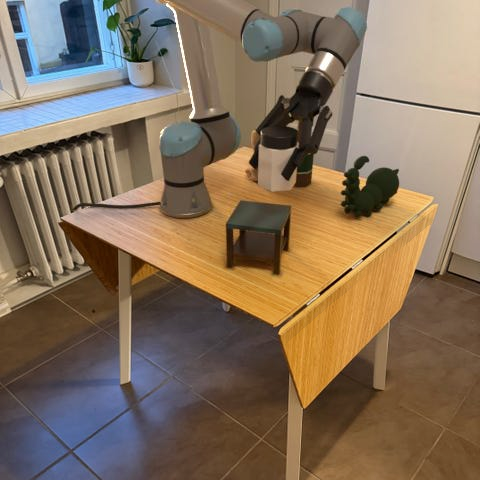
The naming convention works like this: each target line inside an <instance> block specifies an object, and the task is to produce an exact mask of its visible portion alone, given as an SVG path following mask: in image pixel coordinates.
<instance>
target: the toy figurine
mask: <svg viewBox="0 0 480 480" xmlns="http://www.w3.org/2000/svg"><path fill="white" fill-rule="evenodd" d="M369 162H370V158H369V157H368V156H367V155H361V156H359V157H357V158H356V159H355V161H354V163H353V167H351V168H349V169H347V171H345V172H344V173H343V177H344V178H346V179H344V180H343V181H342V182H341V185H342V186H343V187H344V189H343V190H341V191H340V195H341V196H342V197H343V196H344V200H342V201H341V202H340V206H341V207H343V212H344V213H345V214H351V212H352V213H354V216H355V218H361V217H362V216H363V215H364V216H366V217H371V215H373V211H372V209H373V210H374V211H377V212H379V211H381V210H382V208H383V205H385V204H388V203H389V202H390V199H392V198H393V197H394V196H395V195H396V194H398V190H399V188H400V179H399V175H398V174H399V171H400V169H399V168H396V169H392V168H389V167H385V166H384V167H378V168H375V169H374V170H372V171H371V173H369V175H368V176H367V178H366V181H365V185H364V186H362V187H361V188H360V184H361V180H360V171H359V170H361V169H362V168H363V167H364V166H365V165H366V163H369Z"/></svg>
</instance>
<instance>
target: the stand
mask: <svg viewBox="0 0 480 480" xmlns="http://www.w3.org/2000/svg"><path fill="white" fill-rule="evenodd" d="M291 219H292V205H290V204H289V205H288V204H279V203H270V202H260V201H252V200H242V199H241V200H239V201H238V203H237V205H236V206H235V208H234V210H233V211H232V213H231V214H230V216H229V218H228V219H227V221H226V222H225V239H226V241H225V242H226V243H225V244H226V245H225V246H226V268H227V269H233V268H234V266H235V258H238V259H239V258H240V259H247V260H254V261H261V262H268V263H273V270H272V271H273V273H272V274H273V275H277V276H279V275H280V273H281V264H282V263H281V261H282V253H283V251H284V252H285V251H286V252H288V251H289V249H290V235H291V222H292V221H291ZM234 230H239V233H238V237H237V238H236V240H235V241H234Z"/></svg>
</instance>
